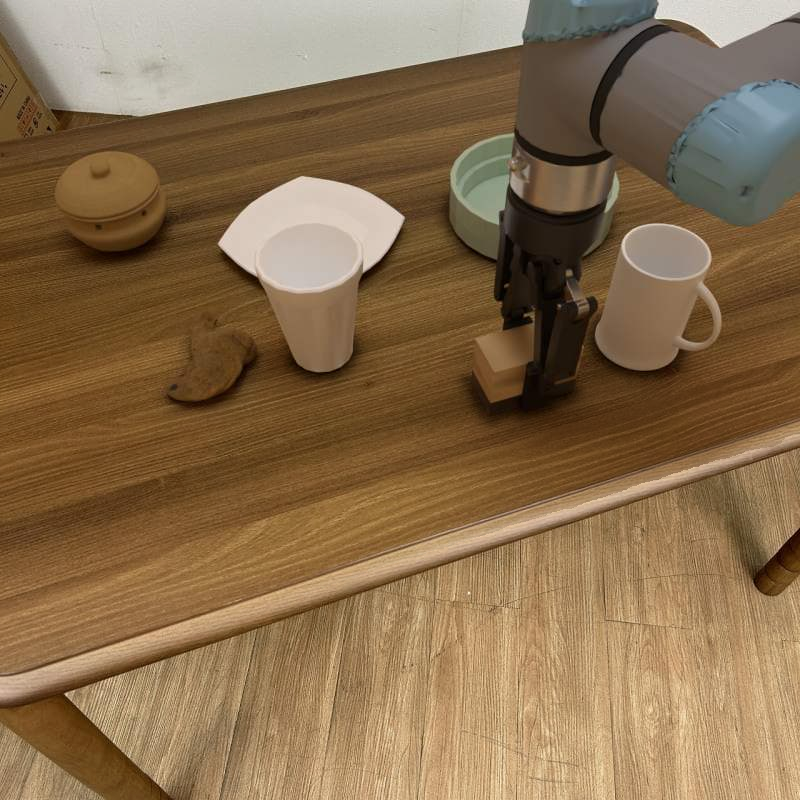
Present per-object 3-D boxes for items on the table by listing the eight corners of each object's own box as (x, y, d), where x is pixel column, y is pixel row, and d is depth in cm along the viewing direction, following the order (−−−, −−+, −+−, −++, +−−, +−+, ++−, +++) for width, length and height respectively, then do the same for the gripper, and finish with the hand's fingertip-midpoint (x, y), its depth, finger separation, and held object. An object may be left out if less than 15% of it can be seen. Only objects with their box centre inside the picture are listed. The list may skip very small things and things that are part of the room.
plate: (425, 226, 90) (426, 213, 88) (330, 322, 80) (328, 309, 78) (301, 177, 97) (299, 163, 95) (198, 259, 87) (194, 246, 85)
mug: (720, 368, 75) (764, 278, 65) (660, 405, 72) (696, 317, 63) (636, 301, 81) (665, 210, 72) (577, 332, 78) (599, 242, 69)
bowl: (632, 198, 93) (642, 160, 88) (571, 291, 82) (580, 252, 78) (492, 155, 99) (496, 117, 95) (419, 236, 89) (420, 197, 85)
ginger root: (210, 321, 80) (202, 296, 78) (275, 364, 76) (269, 339, 73) (137, 375, 76) (126, 350, 73) (202, 424, 72) (193, 400, 69)
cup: (338, 403, 73) (325, 306, 63) (255, 367, 76) (230, 269, 66) (388, 337, 78) (384, 239, 68) (309, 306, 82) (294, 208, 71)
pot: (126, 193, 95) (99, 122, 87) (194, 223, 91) (173, 151, 83) (54, 244, 89) (19, 172, 81) (124, 278, 85) (94, 206, 77)
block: (552, 359, 76) (562, 314, 71) (572, 391, 73) (584, 347, 68) (471, 382, 74) (474, 337, 69) (488, 416, 72) (494, 372, 67)
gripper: (466, 134, 60) (454, 334, 78) (566, 274, 49) (525, 466, 68) (550, 116, 61) (519, 316, 80) (665, 248, 51) (599, 444, 69)
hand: (522, 385), depth 74 cm, fingers closed on block, 5 cm apart
